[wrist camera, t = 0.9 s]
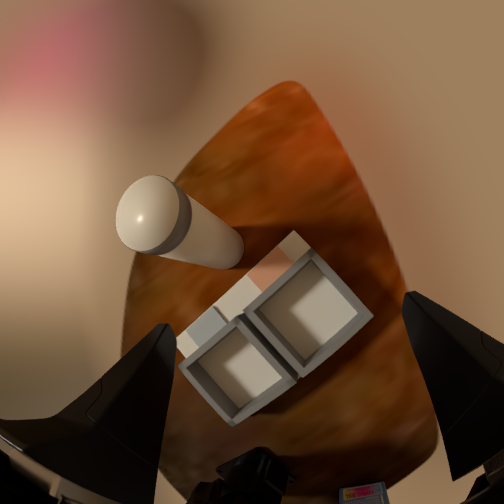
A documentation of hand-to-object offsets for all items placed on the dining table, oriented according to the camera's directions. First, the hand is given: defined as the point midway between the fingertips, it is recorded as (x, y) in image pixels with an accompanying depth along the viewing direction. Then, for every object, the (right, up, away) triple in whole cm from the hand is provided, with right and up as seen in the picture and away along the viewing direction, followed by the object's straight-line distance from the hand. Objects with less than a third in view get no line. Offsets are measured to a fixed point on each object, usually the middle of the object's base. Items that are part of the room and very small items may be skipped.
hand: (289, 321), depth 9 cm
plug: (-4, +3, +16) cm, 17 cm away
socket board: (0, -5, +14) cm, 15 cm away
